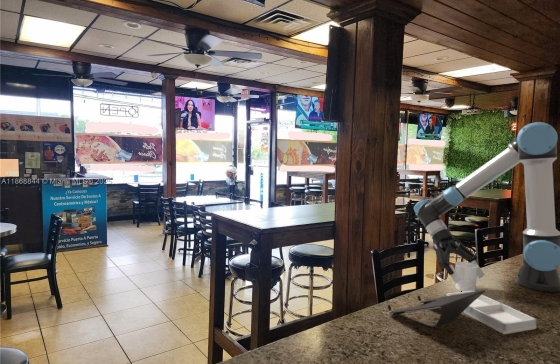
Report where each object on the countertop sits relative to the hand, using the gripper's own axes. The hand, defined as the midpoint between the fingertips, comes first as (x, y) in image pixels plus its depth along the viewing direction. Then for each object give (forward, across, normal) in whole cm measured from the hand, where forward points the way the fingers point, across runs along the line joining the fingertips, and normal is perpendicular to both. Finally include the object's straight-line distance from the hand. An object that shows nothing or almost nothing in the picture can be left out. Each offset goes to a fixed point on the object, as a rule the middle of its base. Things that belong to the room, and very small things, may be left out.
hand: (470, 279), depth 140 cm
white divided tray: (+14, +14, +8) cm, 21 cm away
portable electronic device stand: (+11, +33, +3) cm, 35 cm away
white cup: (+2, 0, -5) cm, 5 cm away
